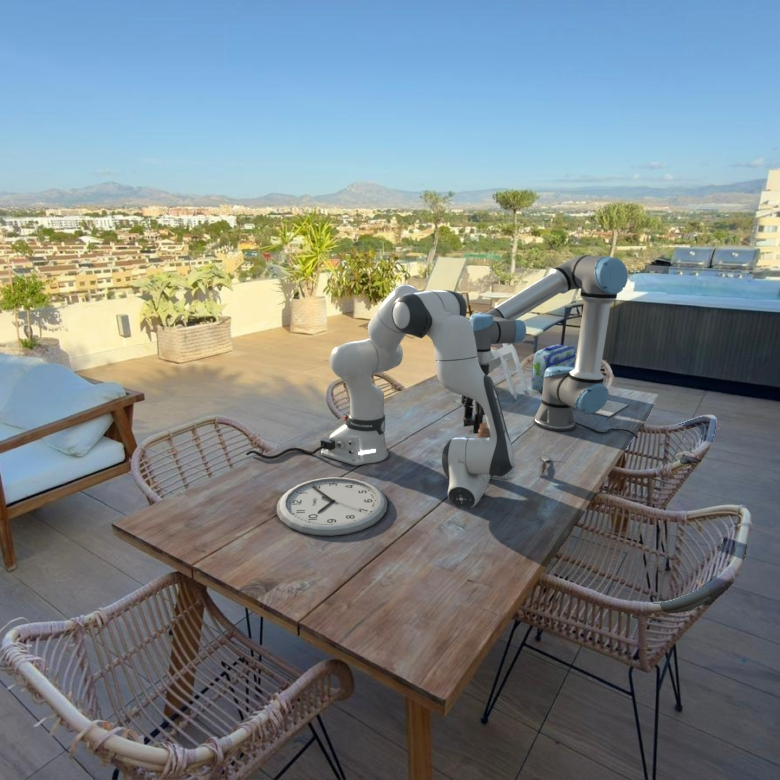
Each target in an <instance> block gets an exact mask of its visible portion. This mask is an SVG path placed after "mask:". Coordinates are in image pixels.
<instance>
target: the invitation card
mask: <svg viewBox="0 0 780 780" xmlns="http://www.w3.org/2000/svg"><path fill="white" fill-rule="evenodd" d="M628 406H629V404H627V403H623V402H618V401H614V400H609V399H607V402H606V404H605V405H604V406H603V407H602V408H601V409H600V410H599V411H597V412H595V413H594V414H596V415H600V416H604V417H608V418H609V417H611V416H613V415H614V414H616V413H617V412H619V411H621V410H623V409H624V408H626V407H628Z"/></svg>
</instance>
